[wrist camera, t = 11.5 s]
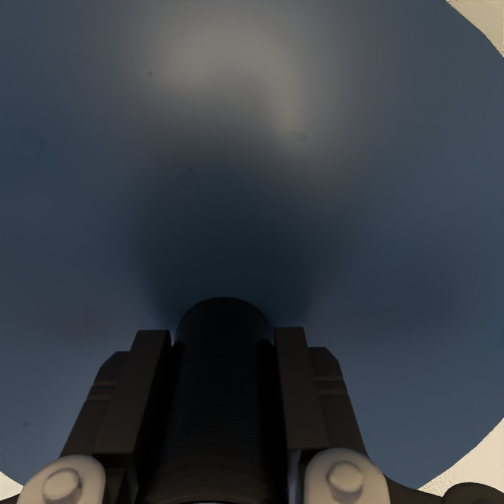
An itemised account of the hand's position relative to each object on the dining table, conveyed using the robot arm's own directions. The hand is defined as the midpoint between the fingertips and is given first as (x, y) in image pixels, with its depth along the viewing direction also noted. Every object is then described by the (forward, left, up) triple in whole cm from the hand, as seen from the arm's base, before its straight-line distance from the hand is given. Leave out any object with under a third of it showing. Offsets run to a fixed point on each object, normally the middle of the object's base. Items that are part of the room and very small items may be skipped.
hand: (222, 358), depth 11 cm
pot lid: (0, 0, -1) cm, 1 cm away
